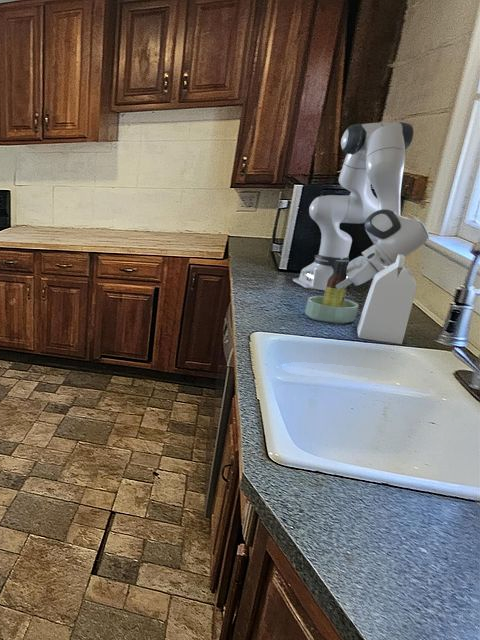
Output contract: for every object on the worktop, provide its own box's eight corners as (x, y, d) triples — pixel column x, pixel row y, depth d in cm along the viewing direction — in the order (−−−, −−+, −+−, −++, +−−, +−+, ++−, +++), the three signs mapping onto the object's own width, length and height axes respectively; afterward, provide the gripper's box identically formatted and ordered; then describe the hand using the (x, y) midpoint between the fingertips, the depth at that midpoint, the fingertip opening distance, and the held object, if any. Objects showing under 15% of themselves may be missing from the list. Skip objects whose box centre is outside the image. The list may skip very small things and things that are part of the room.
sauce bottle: (342, 319, 186) (357, 263, 179) (323, 317, 187) (336, 262, 180) (335, 313, 192) (349, 259, 185) (316, 312, 193) (329, 258, 186)
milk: (356, 327, 179) (377, 251, 170) (398, 333, 174) (421, 254, 164) (358, 337, 170) (380, 257, 160) (401, 344, 164) (427, 261, 155)
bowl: (295, 312, 197) (298, 296, 194) (334, 311, 198) (338, 295, 196) (322, 325, 182) (326, 308, 180) (364, 324, 184) (369, 307, 181)
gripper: (363, 247, 188) (325, 272, 195) (375, 257, 170) (333, 284, 177) (374, 261, 188) (336, 285, 195) (387, 272, 170) (345, 298, 177)
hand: (334, 285), depth 186 cm, fingers open, 7 cm apart
